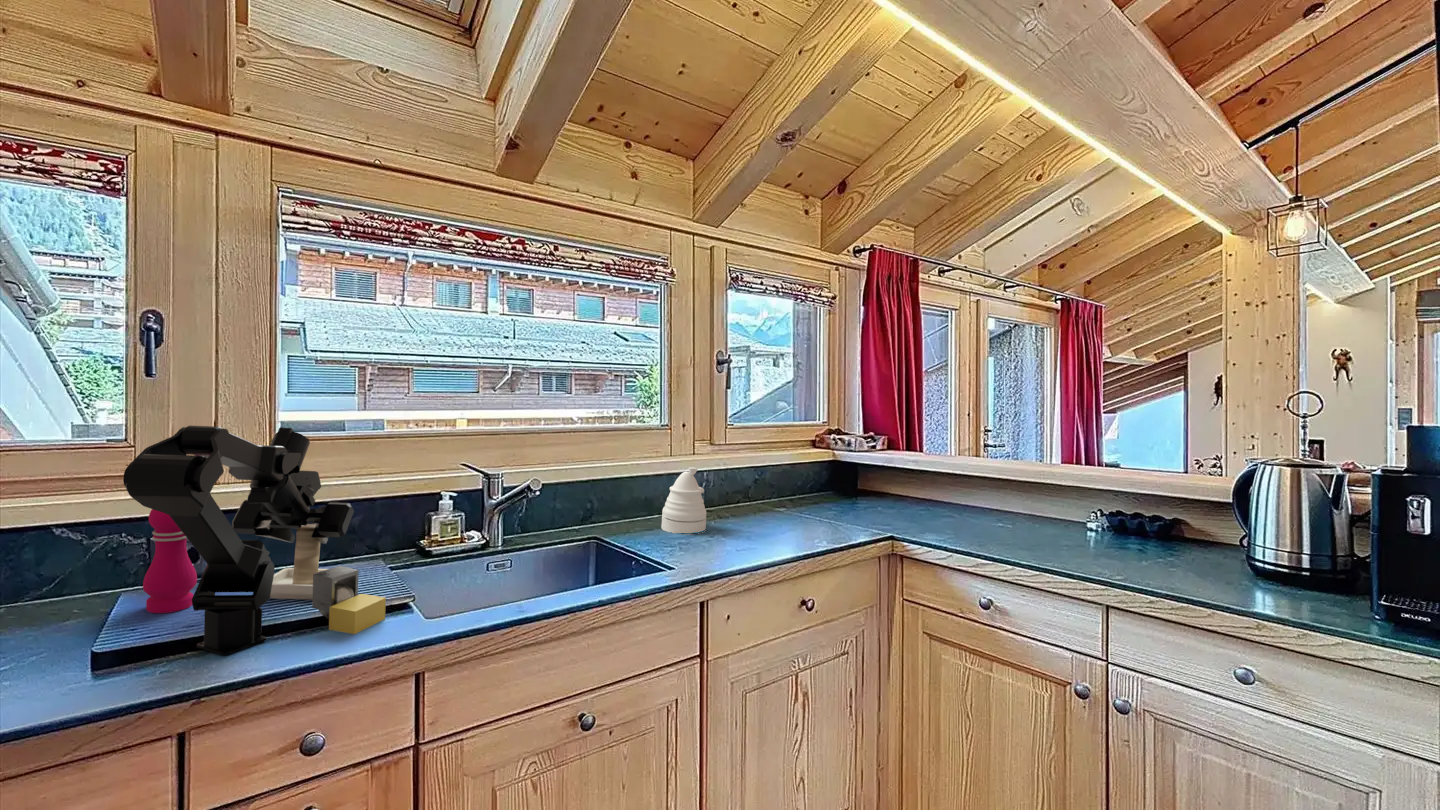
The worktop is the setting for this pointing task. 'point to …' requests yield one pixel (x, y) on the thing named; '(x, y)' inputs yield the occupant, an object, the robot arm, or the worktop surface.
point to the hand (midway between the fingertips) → (309, 541)
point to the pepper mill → (168, 568)
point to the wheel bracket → (333, 587)
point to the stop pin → (306, 555)
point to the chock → (357, 613)
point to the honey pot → (684, 506)
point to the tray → (290, 586)
